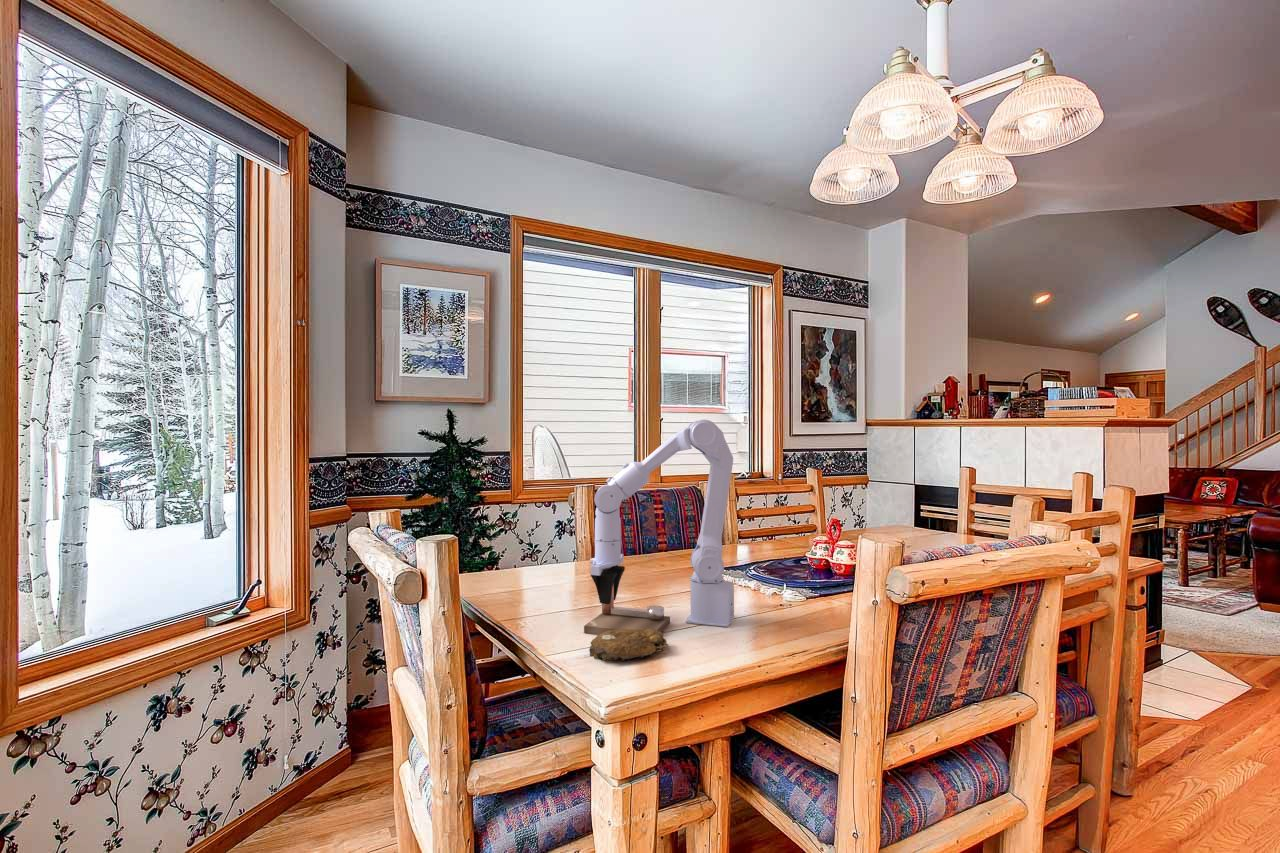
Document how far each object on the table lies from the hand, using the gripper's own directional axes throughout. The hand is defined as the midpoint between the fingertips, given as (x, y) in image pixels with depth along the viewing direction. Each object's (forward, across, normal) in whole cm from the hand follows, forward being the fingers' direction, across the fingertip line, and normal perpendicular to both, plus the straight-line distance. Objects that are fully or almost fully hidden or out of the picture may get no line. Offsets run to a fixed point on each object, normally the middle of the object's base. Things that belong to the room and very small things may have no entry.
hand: (607, 601), depth 136 cm
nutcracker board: (+4, +4, +6) cm, 8 cm away
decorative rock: (+5, +17, +11) cm, 20 cm away
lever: (+2, 0, +6) cm, 6 cm away
